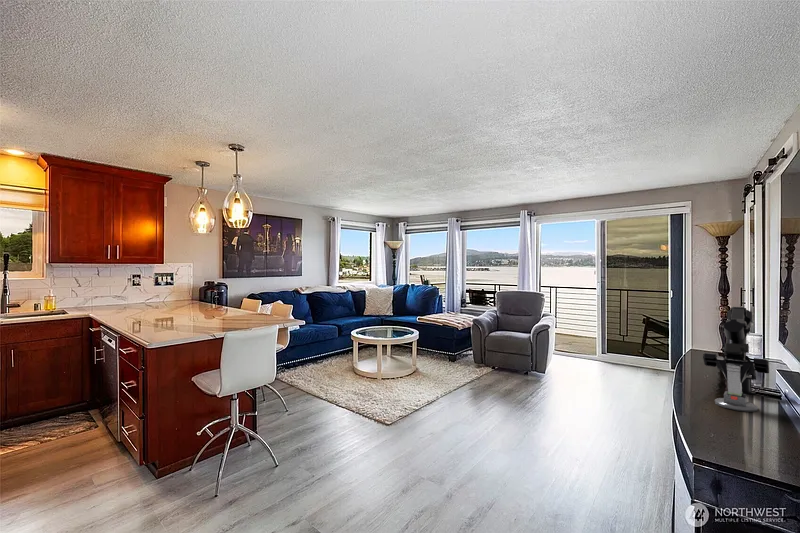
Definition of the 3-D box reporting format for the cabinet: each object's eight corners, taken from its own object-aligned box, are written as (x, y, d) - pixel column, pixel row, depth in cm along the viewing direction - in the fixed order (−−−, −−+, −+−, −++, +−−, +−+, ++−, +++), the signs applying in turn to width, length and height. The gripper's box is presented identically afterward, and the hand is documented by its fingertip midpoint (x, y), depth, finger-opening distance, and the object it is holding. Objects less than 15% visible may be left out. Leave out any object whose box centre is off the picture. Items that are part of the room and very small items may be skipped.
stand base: (717, 399, 147) (716, 387, 147) (758, 406, 138) (758, 394, 138) (712, 406, 138) (712, 394, 139) (756, 414, 130) (756, 401, 130)
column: (729, 392, 141) (727, 363, 141) (742, 395, 138) (740, 364, 139) (727, 395, 138) (726, 364, 139) (741, 397, 136) (739, 366, 136)
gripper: (702, 332, 149) (699, 364, 141) (767, 337, 135) (767, 373, 127) (706, 349, 154) (703, 380, 146) (769, 355, 140) (769, 390, 132)
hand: (734, 380), depth 138 cm, fingers closed on column, 4 cm apart
